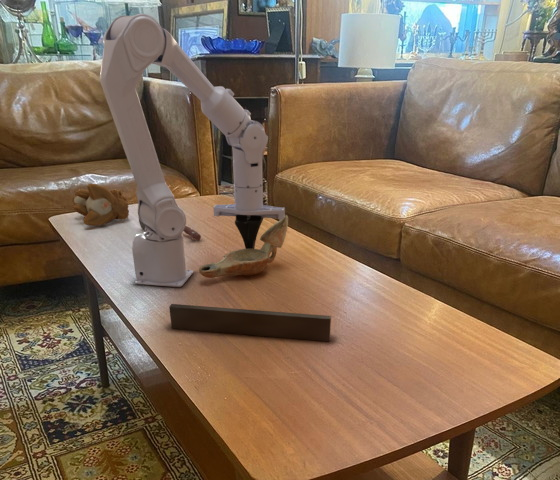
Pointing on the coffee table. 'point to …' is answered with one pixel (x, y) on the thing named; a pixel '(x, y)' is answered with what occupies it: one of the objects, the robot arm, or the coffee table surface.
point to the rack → (251, 322)
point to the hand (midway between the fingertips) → (250, 251)
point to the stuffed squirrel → (100, 205)
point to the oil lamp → (249, 255)
